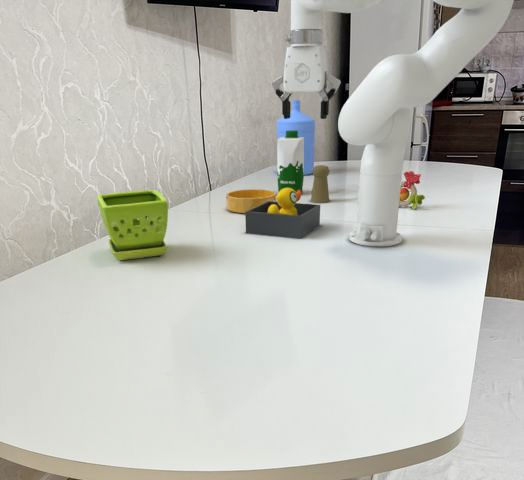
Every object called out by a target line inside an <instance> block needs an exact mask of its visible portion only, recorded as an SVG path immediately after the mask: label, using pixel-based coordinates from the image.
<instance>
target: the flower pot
mask: <svg viewBox="0 0 524 480" xmlns="http://www.w3.org/2000/svg"><path fill="white" fill-rule="evenodd" d="M96 199H97V203H98V207H99V212H100V215H101V219H102V222H103V224H104V227H105V229H106V231H107V234H108V236H109V239H108V240H107V241H108V245H109V247H110V248H109V249H110V251H111V252H112V254H113V257H115V258H116V259H117V260H119V261H125V260H134V259H143V258H150V257H161V256H162V255H163V254H164V253H165V252H166V251H167V250H168V245H167V244H166V242H165V241H164V240H165V237H166V233H167V229H168V228H167V227H168V221H169V204H168V200H167V198H166V197H165V196H164V195H163V194H162V193H161V192H160V191H158V190H156V189H147V190H134V191H124V192H123V191H121V192H112V193H105V194H97V197H96Z"/></svg>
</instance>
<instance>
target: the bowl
mask: <svg viewBox="0 0 524 480" xmlns="http://www.w3.org/2000/svg"><path fill="white" fill-rule="evenodd" d="M276 197H277V192H276V191H273V190H270V189H261V188H259V189H258V188H257V189H256V188H254V189H253V188H249V189H239V190H233V191H229V192H227V193H226V194H225V202H226V203H225V204H226V210H228V211H230V212H233V213H238V214H245V212H246V211H248V210H250V209H252V208H254V207H256V206H259V205H261V204H263V203H265V202H267V201H274V202H277V199H276Z"/></svg>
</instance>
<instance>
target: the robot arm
mask: <svg viewBox="0 0 524 480" xmlns="http://www.w3.org/2000/svg"><path fill="white" fill-rule="evenodd" d="M382 1H383V0H290V31H289V34H287V35H285V36H284V40H285V41H284V42H285V43H289V45H290V46H287V47H286V52H285V56H284V57H285V58H284V68H283V75H281V76H280V77H278V78H277V79H274V81H272V82H271V85H272V88H273V90H274V92H275V95H276V96H277V97H278V98H279V100H280V102H281V111H282V112H281V114H282V116H283V117H284V119H288V118H290V113H291V109H292V105H291V103H292V101H290V98H291V97H292V95H293V94H315V93H318V95H319V96H320V98H321V99H322V100H321V102H320V119H321V120H325V119H327V118H328V116H329V112H330V101H331V99H332V98H333V97H335V95H336V94H337V91H338V89H339V87H340V85H341V83H342V81H341V80H340V79H339V78H336V77H335V76H333V75H331V74H330V73H328V65H327V53H326V47H325V45H323V29H324V28H323V26H324V12H330V13H333V12H334V13H342V14H352V13H356V12H360V11H362V10H365V9H368V8H372V7H374V6H376V5H379V3H381V2H382ZM514 1H515V0H432V2H434V3H436V4H438V5H440V6H443V7H447V8H456V9H460V10H459V12H457V13H456V14H454V16H453V17H451V18H450V19H449V20H447V21H446V22H445V23H443V24H442V25H441V26H440V27H438V29H437V30H436V31H435V32H434V34H433V35H432V36H431V37H430V39H428V40H427V41H426V42H425V44H424V45H423V46H422V47H421V48H420V49H419V50H416V52H413V53H409V54H408V53H399V54H392V55H389V56H387V57H385V58H383V59H382V60H381V61H379V62H378V63H377V64H376V65H375V66H374V67H373V68H372V69H371V70H370V72H369V73H368V74H367V75H366V77H365V78H364V79H363V80H362V81H361V83H360V84H359V85H358V86H357V87H356V89H355V90H354V91H353V92H352V94H351V95H350V96H349V97H348V98H347V100H346V102H345V103H344V104H343V106H342V107H341V110H340V112H339V115H338V121H337V128H338V133H339V136H340V137H341V139H342V140H343V141H344V142H346V143H347V144H349V145H352V146H360V147H361V146H364V149H363V152H362V156H361V160H360V166H359V178H358V179H359V180H358V181H359V182H358V195H357V209H356V210H357V211H356V212H357V213H356V227H355V230H354V231H351V232H350V233H349V235H348V237H349V238H348V239H349V241H351V242H352V243H354V244H357V245H360V246H366V247H391V246H395V245H398V244H401V243H402V242H403V238H404V237H403V235H402V234H401V233H400V232H398V231H397V229H398V220H399V210H400V207H399V201H400V190H401V182H402V179H403V171H404V160H405V154H406V148H407V143H408V139H409V136H410V132H411V128H412V125H413V124H412V122H413V113H412V109H413V108H421V107H424V106H426V105H428V104H430V103H431V102H432V101H433V100H434V99H436V98H437V97H438V95H439V94H440V93H441V92H443V90H444V89H445V88H446V87H447V86H448V85H449V84H450V83H451V82H452V81H453V80H454V79H455V78H456V77H457V76H458V75H459V74H460V73H461V72H462V70H463V69H464V68H465V67H466V66H467V65H468V64H469V63H470V62H471V61H472V60H473V59H474V58H475V57H476V56H477V55H479V53H481V52H482V50H483V49H484V48H485V47H486V46H487V45H488V44H489V43H490V42H491V41H492V40H493V39H494V38H495V37H496V35H497V34H498V33H499V32H500V30H501V29H502V28H503V26H504V25H505V23H506V21H507V19H508V18H509V16H510V13H511V11H512V8H513V5H514ZM328 82H329V83H331V84H332V85H331V88H330V90H329V91H328V90H327V89H328V88H327V87H328ZM281 84H283V90H282V89H281Z"/></svg>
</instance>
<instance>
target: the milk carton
mask: <svg viewBox="0 0 524 480" xmlns="http://www.w3.org/2000/svg"><path fill="white" fill-rule="evenodd" d="M276 143H277V144H276V145H277V147H276V151H277V153H276V154H277V155H276V157H277V159H276V163H277V164H276V172H277V175H276V176H277V178H276V179H277V190H278V192H277V193H279V191H280V190H281V189H283V188H292V189H294V190H295V191H296V192H297V191H298V190H300V191H301V193H302V192H303V188H304V176H305V175H304V137H298V131H286V137H282V138H277V142H276Z"/></svg>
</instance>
